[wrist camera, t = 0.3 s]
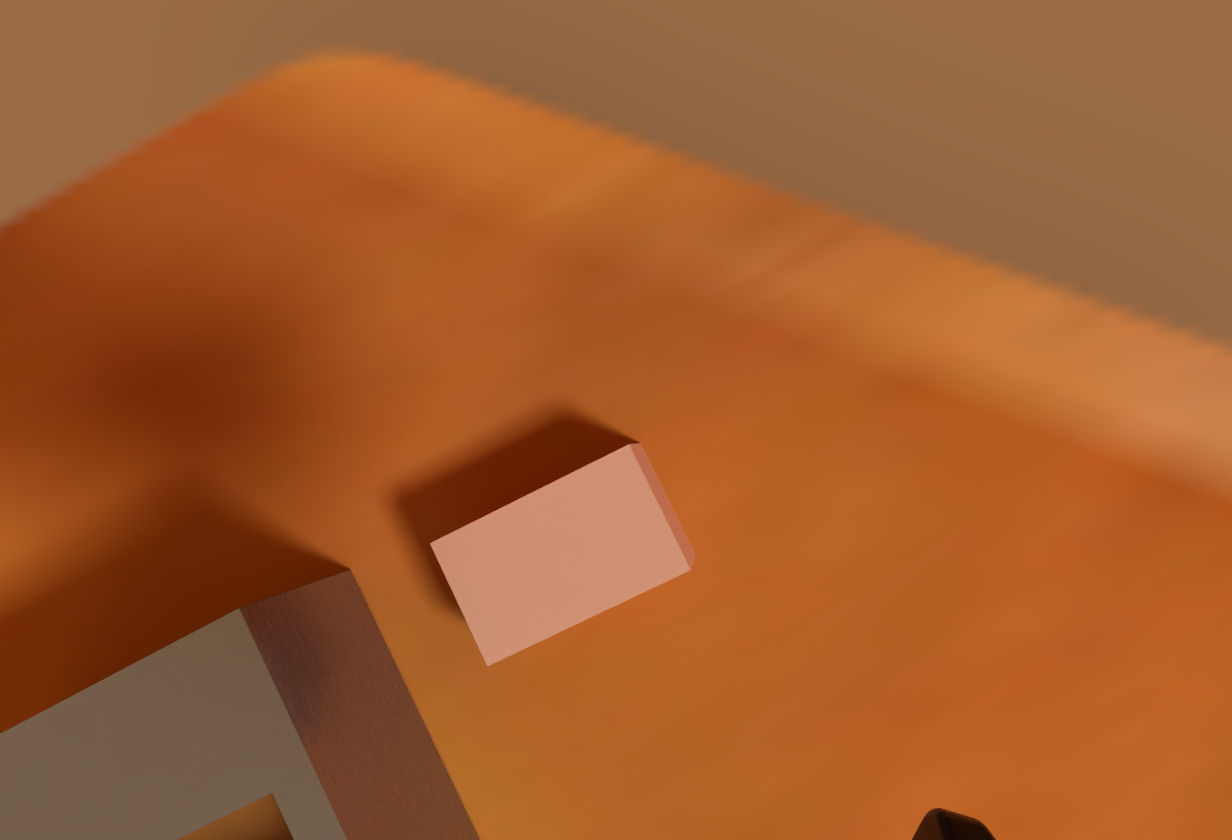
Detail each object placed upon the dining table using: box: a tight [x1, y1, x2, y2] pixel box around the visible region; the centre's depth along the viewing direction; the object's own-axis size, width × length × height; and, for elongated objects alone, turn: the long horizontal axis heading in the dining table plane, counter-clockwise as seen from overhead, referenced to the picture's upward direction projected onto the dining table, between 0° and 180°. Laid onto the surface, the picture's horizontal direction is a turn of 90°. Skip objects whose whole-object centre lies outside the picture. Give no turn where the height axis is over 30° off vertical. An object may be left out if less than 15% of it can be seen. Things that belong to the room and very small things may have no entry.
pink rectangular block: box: [430, 443, 696, 666], centre depth 20 cm, size 3×5×2 cm, turn 116°
